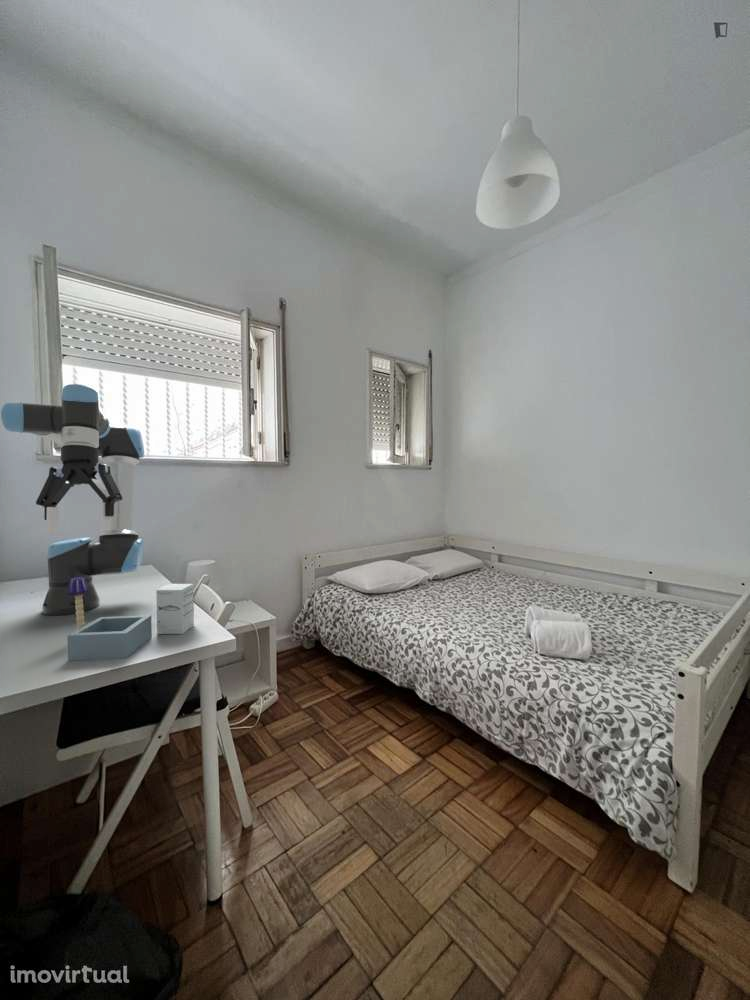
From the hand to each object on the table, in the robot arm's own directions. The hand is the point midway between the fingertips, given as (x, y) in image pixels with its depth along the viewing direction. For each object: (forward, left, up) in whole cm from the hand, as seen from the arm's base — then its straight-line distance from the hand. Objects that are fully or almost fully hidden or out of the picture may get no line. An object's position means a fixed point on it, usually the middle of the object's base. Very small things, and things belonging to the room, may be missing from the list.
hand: (79, 532), depth 95 cm
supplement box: (-13, +17, -30) cm, 37 cm away
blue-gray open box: (-2, +6, -30) cm, 31 cm away
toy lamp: (-9, -6, -30) cm, 32 cm away
